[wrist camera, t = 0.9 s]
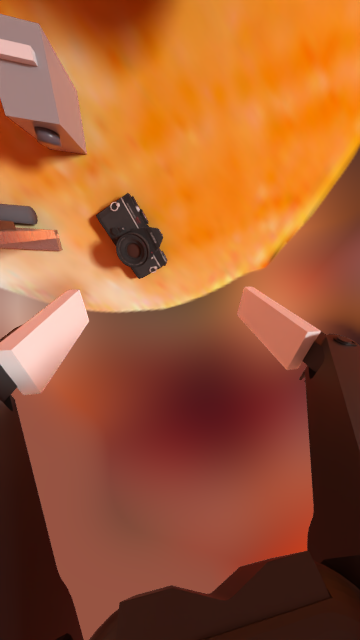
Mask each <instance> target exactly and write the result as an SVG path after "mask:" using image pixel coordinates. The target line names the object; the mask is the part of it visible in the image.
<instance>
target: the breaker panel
mask: <svg viewBox="0 0 360 640" xmlns="http://www.w3.org/2000/svg"><path fill="white" fill-rule="evenodd" d="M0 248H14V249H34V250H54V251H61V250H62V247H61V243H60V239H59V236H58V232H57V230H45V229H31V228H16V227H15V225H14V222H13V221H1V220H0Z"/></svg>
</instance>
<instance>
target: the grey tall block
mask: <svg viewBox="0 0 360 640" xmlns="http://www.w3.org/2000/svg"><path fill="white" fill-rule="evenodd" d="M0 99H1V102H2V105H3V109H4V112H5V115H6V116H7V117H8V118H10V119H11V120H12V121H14V122H15V123H16V124H17V125H19V126H20V127H21V128H23V129H24V130H25V131H27V132H28V133H29V134H31V135H32V136H33V137H35V138H36V139H37V141H38V142H39V143H40V144H42V145H44V146H46V147H48V148H49V149H53V150H60V151H67V152H74V153H81V154H87V151H86V145H85V139H84V133H83V127H82V120H81V114H80V108H79V102H78V96H77V91H76V89H75V87H74V85H73V83H72V82H71V80H70V78H69V76H68V75H67V73H66V71H65V69H64V67H63V66H62V64H61V62H60V60H59V58H58V57H57V55H56V53H55V51H54V49H53V48H52V46H51V44H50V42H49V41H48V39H47V37H46V35H45V33H44V32H43V30H42V28H41V26H40V24H38V23H34V22H30V21H26V20H22V19H18V18H14V17H10V16H6V15H2V14H0Z"/></svg>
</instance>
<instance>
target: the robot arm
mask: <svg viewBox="0 0 360 640" xmlns="http://www.w3.org/2000/svg"><path fill="white" fill-rule="evenodd" d="M237 315H238V316H239V317H240V319H241V320H242V321H243V322H244V323H245V324H246V325H247V327H248V328H249V329H250V330H251V331H252V332H253V333H254V334H255V335H256V336H257V338H258V339H259V340H260V341H261V342H262V343H263V344H264V345H265V346H266V348H267V349H268V350H269V351H270V352H271V353H272V354H273V355H274V356H275V358H276V359H277V360H278V361H279V362H280V363H281V364H282V365H283V366H284V368H285V369H286V370H291V369H298V368H299V367H300V365H301V363H302V362H304V363H306V364H307V367H306V368H305V370H304V371H303V373H302V375H301V376H300V380H302V378H304V377H305V383H306V398H307V413H308V428H309V441H310V442H309V443H310V457H311V473H312V488H313V503H314V513H313V518H312V521H311V524H310V527H309V531H308V541H307V542H308V543H307V548H308V551H304V552H299V553H295V554H290V555H285V556H280V557H275V558H271V559H267V560H263V561H259V562H256V563H252V564H248V565H245V566H241V567H239V568H238V569H237V570H236V571H235V572H234V573H233V574H232V575H231V576H229V577H228V578H227V579H226V580H225V581H224V582H223V583H222V584H221V585H220V586H219V587H217V588H216V589H215V590H214V591H213V592H212V593H210V594H205V593H201V592H196V591H192V590H188V589H184V588H180V587H176V586H167V587H164V588H160V589H156V590H153V591H150V592H145V593H142V594H138V595H135V596H133V597H130V598H128V599H126V600H124V601H122V602H120V605H119V609H118V610H117V611H115V612H114V613H113V614H112V615H111V616H110V617H109V618H108V619H107V620H106V621H105V622H104V623H103V624H102V625H101V626H100V627H99V628H98V629H97V631H96V632H95V633H94V634H93V636H92V637H91V638H90V640H360V346H359V345H358V344H357V343H356V342H355V341H353V340H351V339H349V338H347V337H344V336H341V335H337V334H328V335H326V334H324V333H323V332H321V331H320V330H318V329H317V328H315V327H314V326H312V325H311V324H309V323H308V322H306V321H304V320H303V319H301V318H300V317H298V316H297V315H295V314H294V313H292V312H291V311H289V310H288V309H286V308H284V307H283V306H281V305H280V304H278V303H277V302H275V301H274V300H272V299H271V298H269V297H267V296H266V295H264V294H263V293H261V292H260V291H258V290H257V289H255V288H254V287H244V290H243V294H242V298H241V301H240V305H239V310H238V313H237ZM88 322H89V319H88V315H87V313H86V309H85V306H84V303H83V299H82V296H81V293H80V290H67V291H66V292H65V293H63V294H62V295H61V296H59V297H58V298H57V299H56V300H54V301H53V302H52V303H50V304H49V305H48V306H47V307H45V308H44V309H43V310H41V311H40V312H39V313H38V314H36V315H35V316H34V317H32V318H31V319H30V320H28V321H27V322H26V323H25V324H23V325H21V326H19V327H17V328H15V329H13V330H12V331H11V332H9V333H8V334H7V335H5V336H4V337H3V338H2V339H0V640H84V639H83V636H82V632H81V629H80V625H79V621H78V617H77V614H76V611H75V607H74V603H73V600H72V597H71V595H70V593H69V591H68V589H67V587H66V585H65V584H64V582H63V581H62V579H61V577H60V575H59V573H58V570H57V566H56V563H55V559H54V555H53V551H52V547H51V543H50V539H49V535H48V531H47V527H46V523H45V519H44V515H43V511H42V507H41V503H40V499H39V495H38V491H37V487H36V483H35V479H34V475H33V471H32V467H31V463H30V459H29V455H28V451H27V447H26V443H25V439H24V435H23V431H22V427H21V423H20V419H19V415H18V411H17V407H16V403H15V399H14V398H13V397H12V396H11V394H12V392H13V391H14V390H15V389H16V388H18V389H19V390H20V392H22V394H23V395H29V394H40V393H42V391H43V390H44V388H45V387H46V385H47V384H48V382H49V381H50V379H51V378H52V376H53V375H54V373H55V372H56V370H57V369H58V367H59V366H60V364H61V363H62V361H63V360H64V358H65V357H66V355H67V353H68V352H69V351H70V349H71V348H72V346H73V345H74V343H75V342H76V340H77V338H78V337H79V336H80V334H81V333H82V331H83V329H84V328H85V327H86V325H87V324H88Z"/></svg>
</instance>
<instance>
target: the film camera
mask: <svg viewBox="0 0 360 640" xmlns="http://www.w3.org/2000/svg"><path fill="white" fill-rule="evenodd" d="M139 210H140V212H139ZM96 216H97V218H98V220H99V222H100V223H101V225H102V226H103V228H104V229H105V230H106V232H107V233H108V235H109V236H110V238H111V239H112V241H113V242H114V244H115V245H116V251H117V255H118V257H119V259H120V260H121V261H122V262H123V263H124V264H125V265H127V266H129V267H131V269H132V270H133V272H134V273H135V274H136V276H137V277H138V278H139V279H140V278H143V277H145V276H147V275H148V274H150V273H154V271H155V270H157V269H159V268H161V267H162V266H165V265H166V263H167V258H166V256H165V254H164V253H163V251H161V250H160V248H159V247H160V244H161V242H162V239H163V235H162V234H161V232H160V230H159V229H157V228H151V227H149V226H148V225H147V224H148V220H147V218H146V216H145V214H144V213H143V211H142V209H140V208H139V206H138V204H137V202H136V200H135V199H134V197H133V196H132V197H131V195H130V194H129V193H127V194H126V195H125V196H123V197H122V198H120V199H119V200H117V201H116V202H112V203H111V205H110V206H109V207H107V208H106V209H104V210H103V211H101V212H100V213H99V214H97V215H96ZM155 272H156V271H155Z"/></svg>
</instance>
